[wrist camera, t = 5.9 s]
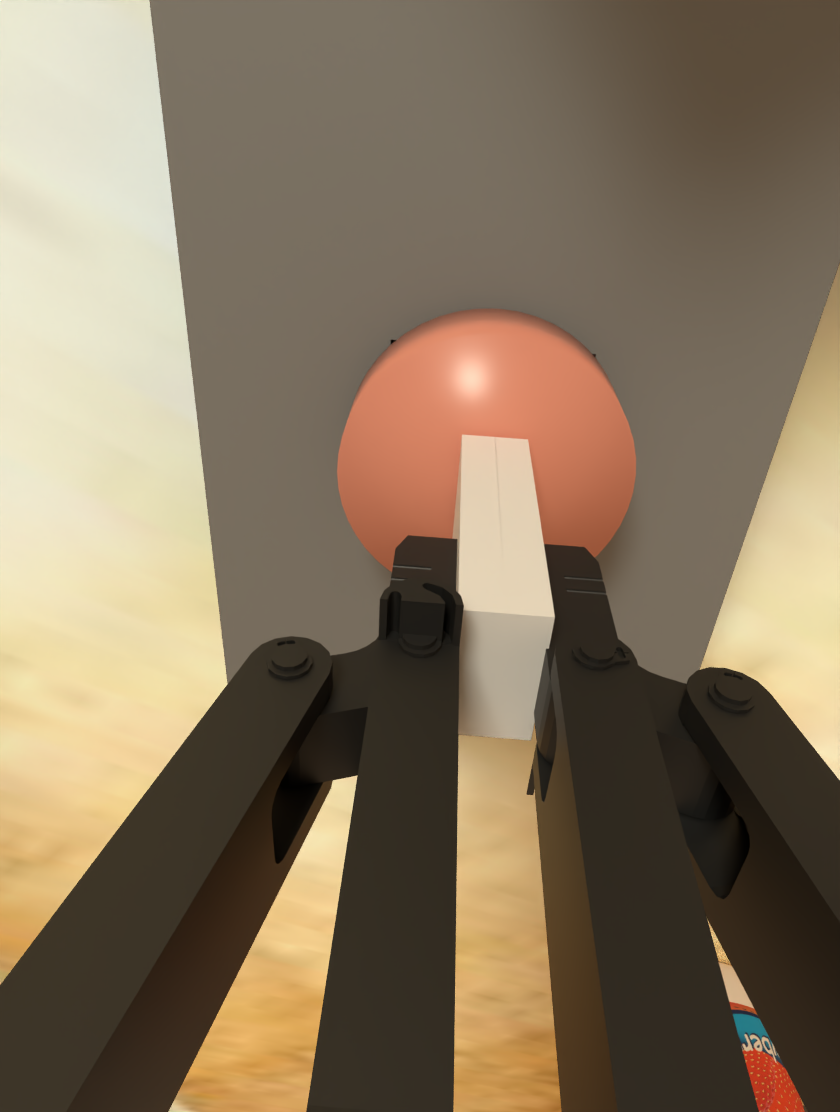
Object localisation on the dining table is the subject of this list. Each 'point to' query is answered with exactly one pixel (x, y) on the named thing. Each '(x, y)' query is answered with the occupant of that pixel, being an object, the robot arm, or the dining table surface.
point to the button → (484, 430)
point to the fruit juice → (759, 1052)
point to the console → (497, 260)
